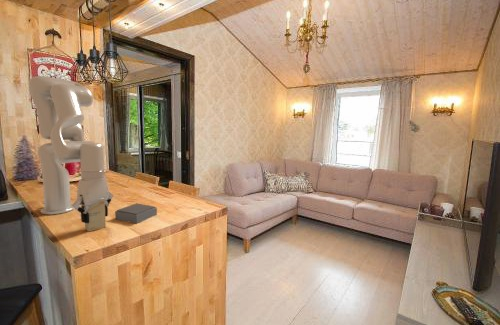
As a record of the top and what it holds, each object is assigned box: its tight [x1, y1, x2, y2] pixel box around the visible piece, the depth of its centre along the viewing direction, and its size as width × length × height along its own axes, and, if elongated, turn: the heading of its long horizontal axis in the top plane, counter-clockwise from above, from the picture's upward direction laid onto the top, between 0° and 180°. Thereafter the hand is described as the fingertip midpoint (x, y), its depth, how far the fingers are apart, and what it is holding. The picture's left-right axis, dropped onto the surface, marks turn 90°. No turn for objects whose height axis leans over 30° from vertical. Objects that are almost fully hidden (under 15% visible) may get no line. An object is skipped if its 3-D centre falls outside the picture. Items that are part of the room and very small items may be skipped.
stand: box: [114, 202, 158, 225], centre depth 108 cm, size 12×12×4 cm
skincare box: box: [84, 198, 107, 232], centre depth 94 cm, size 6×4×12 cm
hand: (95, 218), depth 94 cm, fingers closed on skincare box, 7 cm apart
